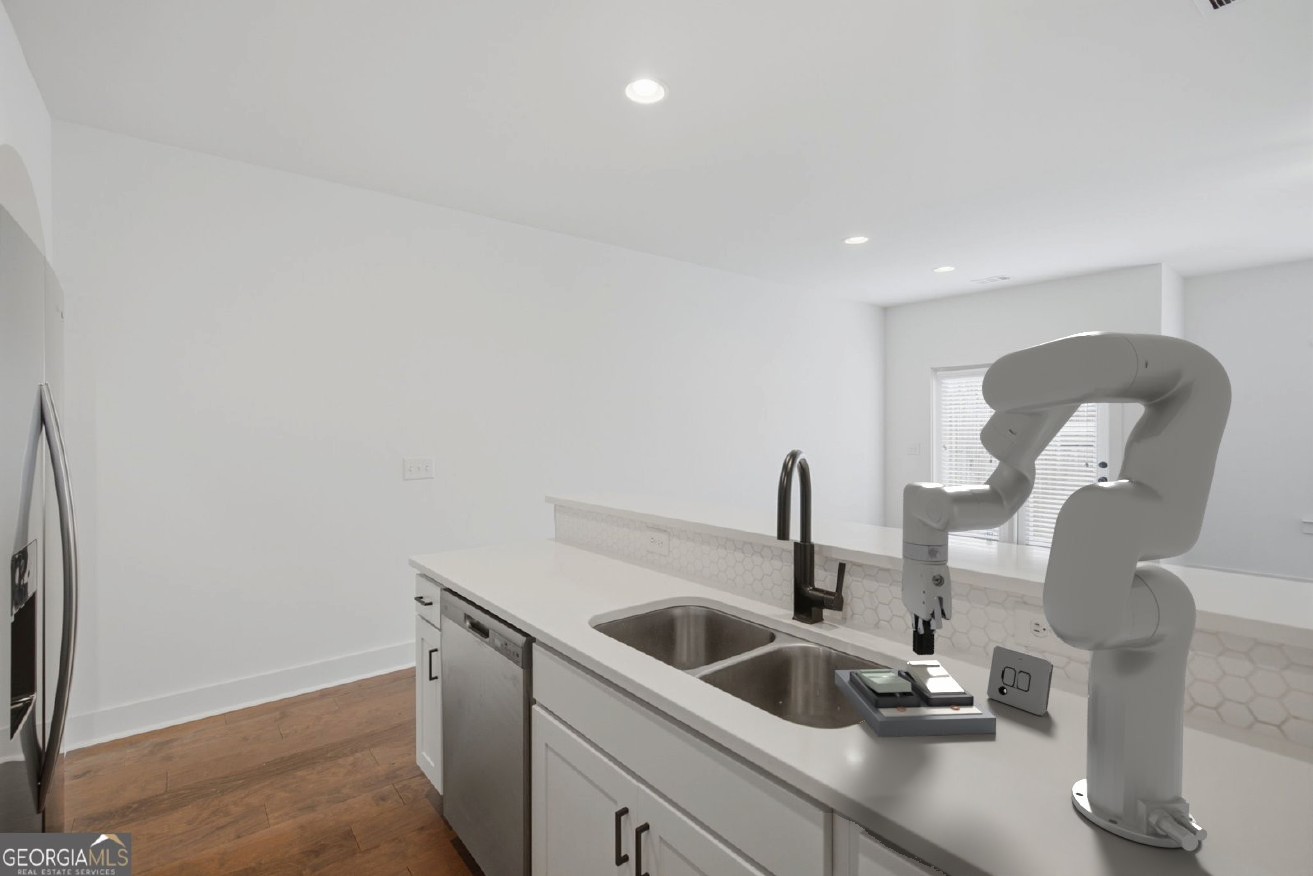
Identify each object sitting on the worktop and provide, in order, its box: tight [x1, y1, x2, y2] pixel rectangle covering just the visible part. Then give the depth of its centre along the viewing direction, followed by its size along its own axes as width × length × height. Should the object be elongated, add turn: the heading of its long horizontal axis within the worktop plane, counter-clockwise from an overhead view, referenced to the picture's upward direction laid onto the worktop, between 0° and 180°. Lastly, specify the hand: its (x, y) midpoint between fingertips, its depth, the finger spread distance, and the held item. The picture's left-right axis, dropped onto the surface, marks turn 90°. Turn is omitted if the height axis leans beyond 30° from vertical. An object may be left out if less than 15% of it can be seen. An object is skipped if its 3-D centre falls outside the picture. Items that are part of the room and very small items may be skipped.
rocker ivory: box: [906, 660, 964, 695], centre depth 109 cm, size 9×6×2 cm, turn 4°
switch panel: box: [834, 668, 997, 738], centre depth 108 cm, size 20×19×4 cm
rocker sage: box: [858, 668, 912, 692], centre depth 108 cm, size 9×6×2 cm, turn 4°
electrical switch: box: [986, 645, 1054, 717], centre depth 110 cm, size 9×5×9 cm, turn 35°
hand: (923, 653), depth 112 cm, fingers closed
